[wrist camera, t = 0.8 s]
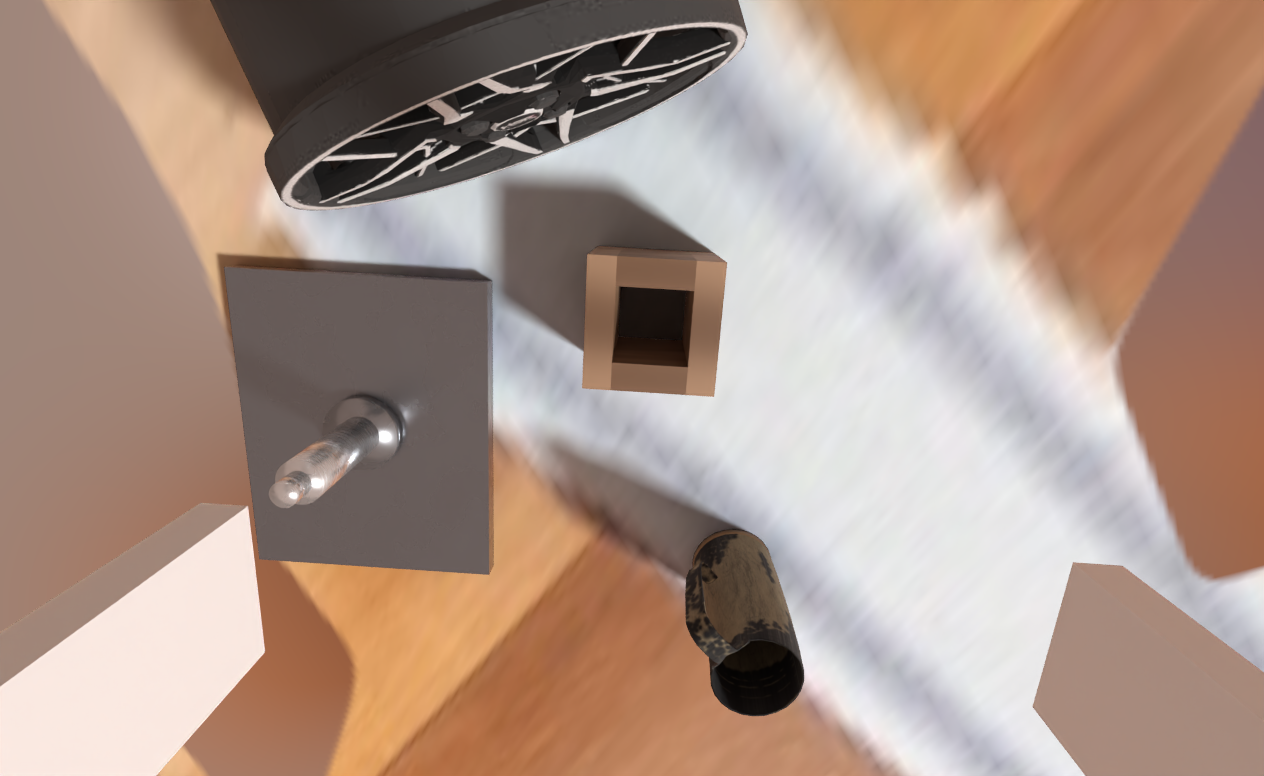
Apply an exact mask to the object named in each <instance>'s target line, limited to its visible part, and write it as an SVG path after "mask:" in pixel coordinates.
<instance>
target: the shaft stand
mask: <svg viewBox="0 0 1264 776" xmlns="http://www.w3.org/2000/svg"><path fill="white" fill-rule="evenodd" d="M224 271H225V279H226V287H227V296H228V304H229V312H230V320H231V329H232V337H233V345H234V353H235V362H236V370H237V378H238V386H239V395H240V403H241V411H242V419H243V427H244V436H245V444H246V452H247V459H248V468H249V476H250V485H251V493H252V502H253V510H254V518H255V526H256V534H257V543H258V551H259V559H264V560H278V561H293V562H308V563H323V564H338V565H352V566H367V567H382V568H397V569H412V570H427V571H442V572H457V573H472V574H487V575H489V574H490V572H491V570H492V567H493V565H494V563H493V347H492V281H487V280H471V279H454V278H438V277H422V276H405V275H389V274H373V273H356V272H340V271H323V270H307V269H291V268H274V267H258V266H242V265H234V266H227V267H224Z"/></svg>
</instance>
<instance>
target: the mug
mask: <svg viewBox="0 0 1264 776" xmlns="http://www.w3.org/2000/svg"><path fill="white" fill-rule="evenodd" d="M692 565H693V569H691V570H689V573H688V575H687V578H686V593H685V598H686V625H687V628H688V630H689V632H690V635H691V637H692V638H693V640H694V641H695V643H696V644H697V646H698V647H699V648H700V649H701V650H702V651H703V652H704V653H705V654H706V655H707V656H708V657H709V662H710V678H711V687H712V689H713V692H714V694H715V696H716V697H717V698H718V700H719V701H720V702H721V703H722V704H723V705H724V706H726V707H727V708H728V709H730V710H732V711H734V712H737V713H739V714H742V715H748V716H765V715H769V714H773V713H776V712H778V711H780V710H782V709H784V708H786V707H787V706H788V705H790V704H791V703H792V702H793V701H794V700H795V699H796V698H797V696H798V695H799V693H800V692H801V689H802V686H803V683H804V669H803V664H802V659H801V655H800V650H799V646H798V642H797V639H796V635H795V631H794V628H793V624H792V620H791V617H790V613H789V610H788V607H787V604H786V601H785V597H784V594H783V591H782V588H781V585H780V582H779V579H778V576H777V573H776V571H775V568H774V565H773V563H772V560H771V556H770V553H769V551H768V548H767V547H766V546H765V544H764V543H763V541H761V540H760V539H759V538H758V537H756V536H755V535H753V534H751V533H749V532H746V531H742V530H736V529H732V530H723V531H720V532H717V533H714V534H712V535H711V536H709V537H707V538H706V539H705V540H704V541H703V542H702V543H701V544H700V545H699V546H698V548H697V550H696V552H695V553H694V557H693V562H692Z"/></svg>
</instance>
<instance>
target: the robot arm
mask: <svg viewBox="0 0 1264 776" xmlns="http://www.w3.org/2000/svg"><path fill="white" fill-rule="evenodd" d="M264 652H265V648H264V639H263V631H262V622H261V614H260V605H259V597H258V589H257V580H256V571H255V562H254V553H253V545H252V536H251V528H250V519H249V511H248V506H239V505H224V504H210V503H200V504H198V505H197V506H195V507H194V508H192V509H191V510H189V511H188V512H186V513H184V514H183V515H181V516H180V517H178V518H177V519H175V520H173V521H172V522H170V523H169V524H167V525H166V526H164V527H163V528H161V529H160V530H158V531H156V532H155V533H153V534H152V535H150V536H149V537H147V538H146V539H144V540H142V541H141V542H139V543H138V544H136V545H135V546H133V547H132V548H130V549H128V550H127V551H125V552H124V553H122V554H121V555H119V556H118V557H116V558H115V559H113V560H111V561H110V562H108V563H107V564H105V565H104V566H102V567H101V568H99V569H97V570H96V571H94V572H93V573H91V574H90V575H88V576H87V577H85V578H84V579H82V580H81V581H79V582H77V583H76V584H74V585H73V586H71V587H70V588H68V589H67V590H65V591H63V592H62V593H60V594H59V595H57V596H56V597H54V598H52V599H51V600H49V601H48V602H46V603H45V604H43V605H42V606H40V607H39V608H37V609H35V610H34V611H32V612H31V613H29V614H28V615H26V616H25V617H23V618H21V619H20V620H18V621H17V622H15V623H14V624H12V625H11V626H9V627H7V628H6V629H5V630H3V631H1V632H0V776H156V775H157V774H158V773H159V772H160V771H161V770H162V768H163V767H164V766H165V765H166V764H167V763H168V762H169V760H170V759H171V758H172V757H173V756H174V755H175V754H176V753H177V751H178V750H179V749H180V748H181V747H182V746H183V745H184V743H185V742H186V741H187V740H188V739H189V738H190V736H191V735H192V734H193V733H194V732H195V731H196V730H197V729H198V727H199V726H200V725H201V724H202V723H203V722H204V721H205V720H206V718H207V717H208V716H209V715H210V714H211V713H212V712H213V710H214V709H215V708H216V707H217V706H218V705H219V704H220V702H221V701H222V700H223V699H224V698H225V697H226V696H227V694H228V693H229V692H230V691H231V690H232V689H233V688H234V687H235V685H236V684H237V683H238V682H239V681H240V680H241V679H242V677H243V676H244V675H245V674H246V673H247V672H248V671H249V670H250V668H251V667H252V666H253V665H254V664H255V663H256V662H257V660H258V659H259V658H260V657H261V656H262V655H263V654H264ZM1033 708H1034V709H1035V711H1036V712H1037V713H1038V714H1039V716H1040V717H1041V718H1042V720H1043V721H1044V722H1045V724H1046V725H1047V726H1048V727H1049V729H1050V730H1051V731H1052V733H1053V734H1054V735H1055V737H1056V738H1057V739H1058V740H1059V742H1060V743H1061V744H1062V746H1063V747H1064V748H1065V750H1066V751H1067V752H1068V753H1069V755H1070V756H1071V757H1072V759H1073V760H1074V761H1075V763H1076V764H1077V765H1078V766H1079V768H1080V769H1081V770H1082V772H1083V773H1084V774H1085V776H1264V672H1262V671H1261V670H1260V669H1259V668H1257V667H1256V666H1255V665H1253V664H1252V663H1251V662H1249V661H1248V660H1247V659H1245V658H1244V657H1243V656H1241V655H1240V654H1239V653H1237V652H1236V651H1235V650H1233V649H1232V648H1231V647H1229V646H1228V645H1227V644H1225V643H1224V642H1223V641H1221V640H1220V639H1219V638H1217V637H1216V636H1215V635H1213V634H1212V633H1211V632H1209V631H1208V630H1207V629H1205V628H1204V627H1203V626H1201V625H1200V624H1199V623H1197V622H1196V621H1195V620H1193V619H1192V618H1191V617H1189V616H1188V615H1187V614H1185V613H1184V612H1183V611H1181V610H1180V609H1179V608H1177V607H1176V606H1175V605H1174V604H1172V603H1171V602H1170V601H1168V600H1167V599H1166V598H1164V597H1163V596H1162V595H1160V594H1159V593H1158V592H1156V591H1155V590H1154V589H1152V588H1151V587H1150V586H1148V585H1147V584H1146V583H1144V582H1143V581H1142V580H1140V579H1139V578H1138V577H1136V576H1135V575H1134V574H1132V573H1131V572H1130V571H1128V570H1127V569H1126V568H1124V567H1123V566H1117V565H1103V564H1088V563H1073V565H1072V568H1071V572H1070V575H1069V579H1068V582H1067V586H1066V590H1065V593H1064V597H1063V600H1062V604H1061V607H1060V611H1059V614H1058V618H1057V622H1056V625H1055V629H1054V632H1053V636H1052V639H1051V643H1050V647H1049V650H1048V654H1047V657H1046V661H1045V664H1044V668H1043V672H1042V675H1041V679H1040V682H1039V686H1038V689H1037V693H1036V696H1035V700H1034V704H1033Z"/></svg>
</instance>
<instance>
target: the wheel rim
mask: <svg viewBox="0 0 1264 776" xmlns="http://www.w3.org/2000/svg"><path fill="white" fill-rule="evenodd" d="M210 1H211V3H212V5H213V7H214V9H215V11H216V13H217V16H218V18H219V20H220V22H221V24H222V26H223V28H224V30H225V32H226V35H227V37H228V39H229V41H230V43H231V45H232V47H233V49H234V51H235V54H236V56H237V58H238V60H239V62H240V64H241V66H242V68H243V71H244V73H245V75H246V77H247V79H248V81H249V83H250V85H251V87H252V90H253V92H254V94H255V96H256V98H257V100H258V102H259V104H260V106H261V109H262V111H263V113H264V115H265V117H266V119H267V121H268V123H269V125H270V128H271V130H272V132H273V134H274V137H273V138H272V140H271V142H270V144H269V146H268V148H267V150H266V152H265V166H266V168H267V172H268V174H269V176H270V178H271V180H272V182H273V185H274V187H275V189H276V191H277V193H278V195H279V197H280V199H281V200H282V201H283V202H284V203H285V204H286V205H287V206H289V207H293V208H296V209H301V210H333V209H344V208H351V207H358V206H365V205H371V204H376V203H381V202H386V201H391V200H396V199H400V198H405V197H409V196H413V195H417V194H421V193H425V192H429V191H433V190H437V189H440V188H444V187H448V186H451V185H455V184H458V183H462V182H465V181H469V180H472V179H475V178H479V177H482V176H485V175H488V174H491V173H494V172H497V171H500V170H503V169H506V168H509V167H512V166H515V165H518V164H521V163H523V162H526V161H529V160H532V159H535V158H538V157H540V156H543V155H546V154H548V153H551V152H553V151H556V150H559V149H561V148H564V147H566V146H569V145H571V144H574V143H577V142H579V141H582V140H584V139H586V138H589V137H591V136H593V135H596V134H598V133H601V132H603V131H605V130H608V129H610V128H612V127H614V126H617V125H619V124H621V123H623V122H625V121H628V120H630V119H632V118H634V117H636V116H638V115H640V114H642V113H645V112H647V111H649V110H651V109H652V108H654V107H656V106H658V105H660V104H662V103H664V102H666V101H668V100H670V99H672V98H674V97H675V96H677V95H679V94H681V93H683V92H685V91H686V90H688V89H690V88H691V87H693V86H695V85H696V84H698V83H700V82H701V81H703V80H704V79H706V78H707V77H709V76H710V75H712V74H713V73H715V72H716V71H718V70H719V69H720V68H721V67H723V66H724V65H725V64H726V63H728V62H729V61H730V60H732V58H733V57H734V56H735V55H736V54H737V53H738V52H739V51H740V50H741V49H742V48H743V47H744V44H745V41H746V38H747V35H748V33H747V30H746V26H745V23H744V19H743V16H742V12H741V9H740V5H739V1H738V0H210Z"/></svg>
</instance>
